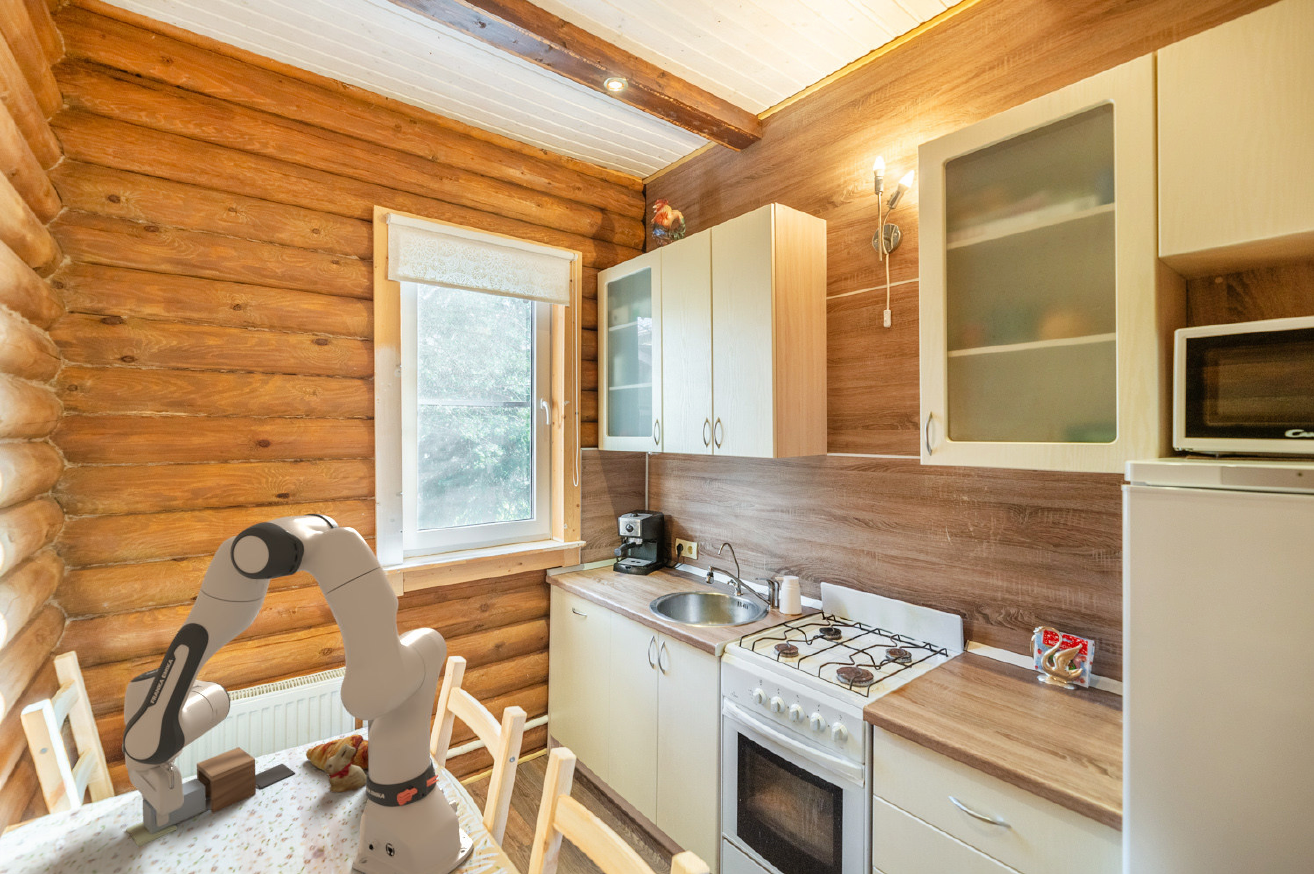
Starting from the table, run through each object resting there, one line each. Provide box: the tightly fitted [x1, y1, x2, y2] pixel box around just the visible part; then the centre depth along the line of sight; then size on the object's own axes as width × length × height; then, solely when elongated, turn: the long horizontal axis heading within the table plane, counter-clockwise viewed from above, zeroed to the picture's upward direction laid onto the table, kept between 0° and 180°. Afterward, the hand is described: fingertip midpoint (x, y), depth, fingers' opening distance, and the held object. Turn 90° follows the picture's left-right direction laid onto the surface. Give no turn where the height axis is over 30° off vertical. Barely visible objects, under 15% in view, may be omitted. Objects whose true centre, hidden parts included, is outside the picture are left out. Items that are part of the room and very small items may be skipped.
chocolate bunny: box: [324, 744, 367, 793], centre depth 134 cm, size 6×8×10 cm
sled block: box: [142, 778, 207, 834], centre depth 123 cm, size 5×9×5 cm, turn 145°
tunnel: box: [126, 746, 296, 847], centre depth 129 cm, size 8×28×8 cm, turn 145°
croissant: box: [305, 733, 368, 772], centre depth 144 cm, size 21×10×8 cm, turn 82°
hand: (156, 817), depth 121 cm, fingers open, 5 cm apart
